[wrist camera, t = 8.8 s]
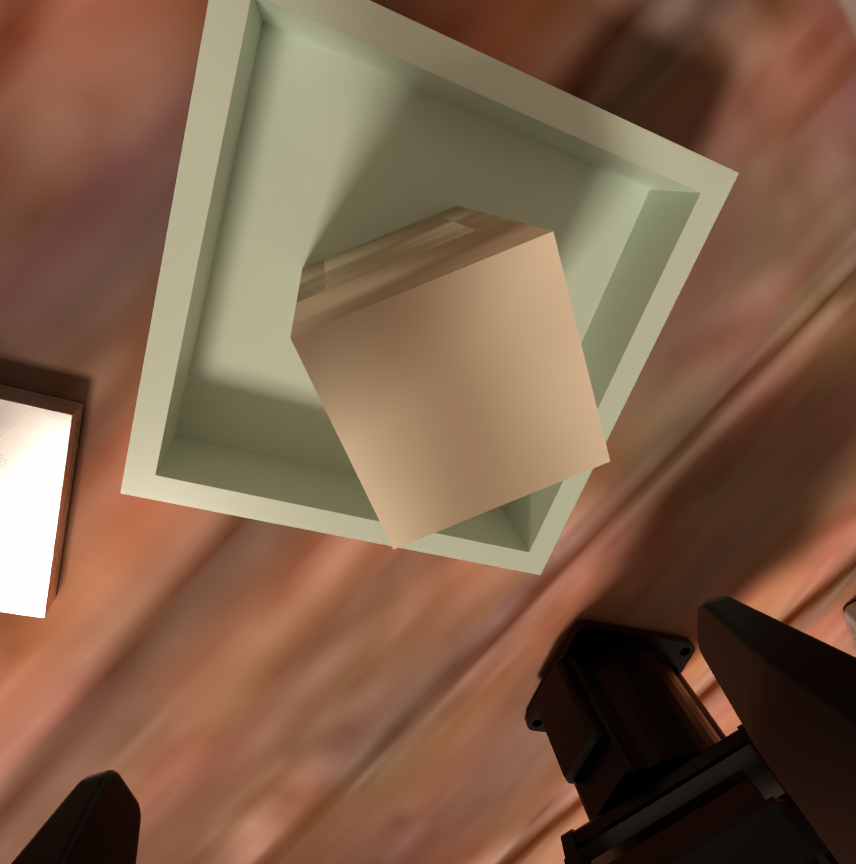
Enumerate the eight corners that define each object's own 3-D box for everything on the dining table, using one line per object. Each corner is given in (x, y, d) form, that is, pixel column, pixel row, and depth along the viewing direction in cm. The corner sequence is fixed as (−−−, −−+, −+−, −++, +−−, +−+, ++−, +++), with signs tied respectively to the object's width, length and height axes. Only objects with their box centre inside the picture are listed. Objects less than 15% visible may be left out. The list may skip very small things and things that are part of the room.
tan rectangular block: (457, 205, 17) (553, 231, 10) (503, 354, 20) (609, 461, 12) (302, 268, 17) (289, 337, 10) (366, 410, 20) (393, 549, 12)
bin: (669, 172, 19) (739, 173, 16) (510, 520, 23) (540, 575, 20) (241, -20, 15) (221, -70, 12) (152, 441, 20) (120, 493, 16)
